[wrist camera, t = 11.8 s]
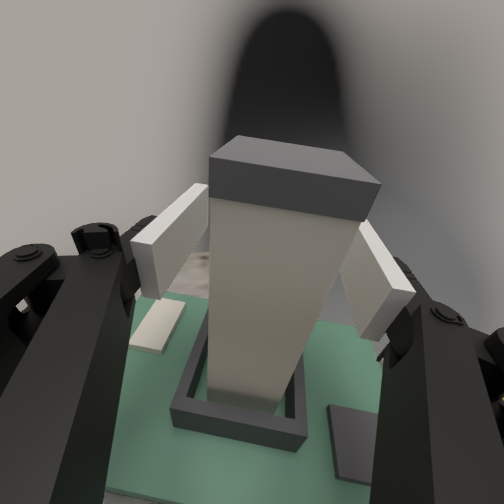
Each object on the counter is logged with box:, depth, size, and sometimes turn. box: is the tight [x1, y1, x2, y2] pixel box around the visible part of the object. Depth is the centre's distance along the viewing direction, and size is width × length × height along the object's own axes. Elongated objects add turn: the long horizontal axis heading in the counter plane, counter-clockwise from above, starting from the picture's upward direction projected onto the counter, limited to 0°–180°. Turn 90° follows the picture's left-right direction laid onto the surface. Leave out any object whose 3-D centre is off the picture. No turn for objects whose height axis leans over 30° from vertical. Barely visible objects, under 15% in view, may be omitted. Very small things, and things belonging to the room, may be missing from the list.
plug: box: [207, 136, 382, 415], centre depth 11 cm, size 4×4×14 cm
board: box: [105, 291, 382, 504], centre depth 15 cm, size 20×12×4 cm, turn 83°
